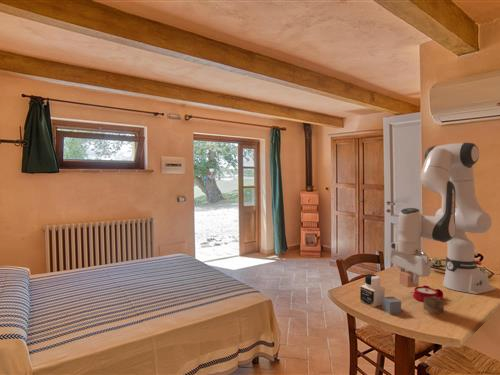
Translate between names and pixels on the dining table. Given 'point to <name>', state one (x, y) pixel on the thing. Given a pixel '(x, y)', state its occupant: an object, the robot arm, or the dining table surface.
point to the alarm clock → (426, 293)
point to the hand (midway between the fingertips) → (409, 280)
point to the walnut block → (433, 305)
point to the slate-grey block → (391, 305)
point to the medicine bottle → (372, 291)
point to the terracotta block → (407, 279)
